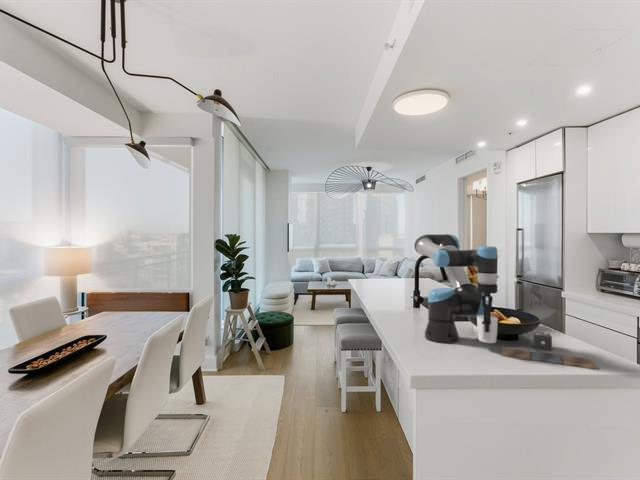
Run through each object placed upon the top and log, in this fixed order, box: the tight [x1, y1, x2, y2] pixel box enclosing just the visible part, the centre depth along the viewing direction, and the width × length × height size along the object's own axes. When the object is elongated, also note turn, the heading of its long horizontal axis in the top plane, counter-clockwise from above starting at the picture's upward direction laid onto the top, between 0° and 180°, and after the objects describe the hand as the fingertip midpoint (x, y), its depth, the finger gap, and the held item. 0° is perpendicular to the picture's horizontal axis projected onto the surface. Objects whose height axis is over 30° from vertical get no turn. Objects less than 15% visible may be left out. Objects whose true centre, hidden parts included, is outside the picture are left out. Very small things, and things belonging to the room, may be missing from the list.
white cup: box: [476, 315, 499, 344], centre depth 134 cm, size 8×8×10 cm
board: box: [501, 346, 600, 371], centre depth 124 cm, size 30×10×1 cm, turn 62°
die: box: [532, 330, 553, 352], centre depth 136 cm, size 6×6×6 cm
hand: (487, 336), depth 134 cm, fingers closed on white cup, 8 cm apart
